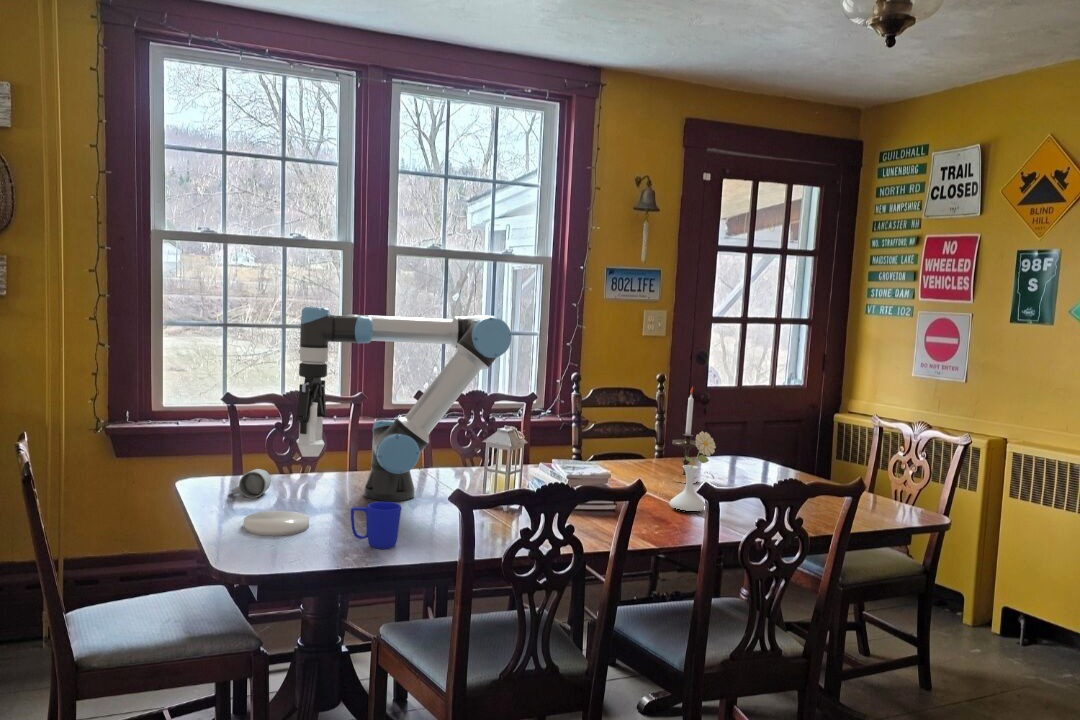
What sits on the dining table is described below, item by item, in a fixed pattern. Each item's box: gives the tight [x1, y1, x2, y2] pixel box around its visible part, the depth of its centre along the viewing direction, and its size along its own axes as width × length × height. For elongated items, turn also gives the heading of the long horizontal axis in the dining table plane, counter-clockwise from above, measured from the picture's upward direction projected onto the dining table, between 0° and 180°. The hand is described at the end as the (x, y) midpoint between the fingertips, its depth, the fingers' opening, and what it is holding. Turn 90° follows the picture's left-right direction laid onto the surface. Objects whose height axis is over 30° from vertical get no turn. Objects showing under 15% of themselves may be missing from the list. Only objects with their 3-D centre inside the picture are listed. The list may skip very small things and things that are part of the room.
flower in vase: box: [668, 430, 717, 512], centre depth 259 cm, size 13×11×25 cm
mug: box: [350, 501, 402, 550], centre depth 203 cm, size 8×12×10 cm
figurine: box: [296, 402, 325, 458], centre depth 233 cm, size 7×9×15 cm
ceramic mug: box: [230, 468, 272, 499], centre depth 244 cm, size 11×8×8 cm
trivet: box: [242, 510, 310, 537], centre depth 213 cm, size 16×16×2 cm
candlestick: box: [672, 385, 697, 475], centre depth 302 cm, size 11×11×35 cm
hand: (310, 442), depth 233 cm, fingers closed on figurine, 9 cm apart
